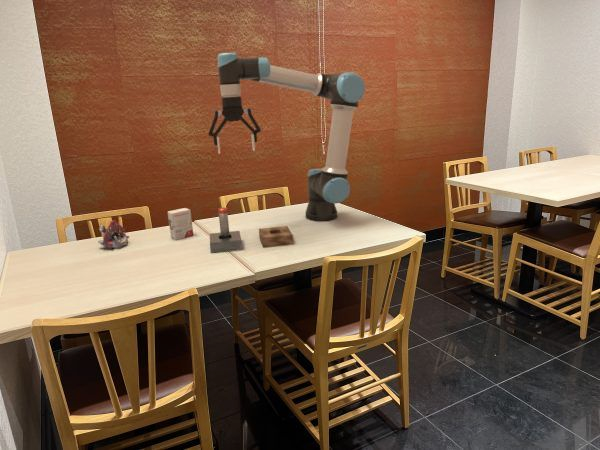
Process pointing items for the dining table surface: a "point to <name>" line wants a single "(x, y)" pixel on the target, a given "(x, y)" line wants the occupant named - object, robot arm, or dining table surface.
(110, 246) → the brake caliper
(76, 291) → the dining table surface
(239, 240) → the dock
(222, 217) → the lock pin
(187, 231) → the ink box
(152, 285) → the dining table surface
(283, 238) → the mount
